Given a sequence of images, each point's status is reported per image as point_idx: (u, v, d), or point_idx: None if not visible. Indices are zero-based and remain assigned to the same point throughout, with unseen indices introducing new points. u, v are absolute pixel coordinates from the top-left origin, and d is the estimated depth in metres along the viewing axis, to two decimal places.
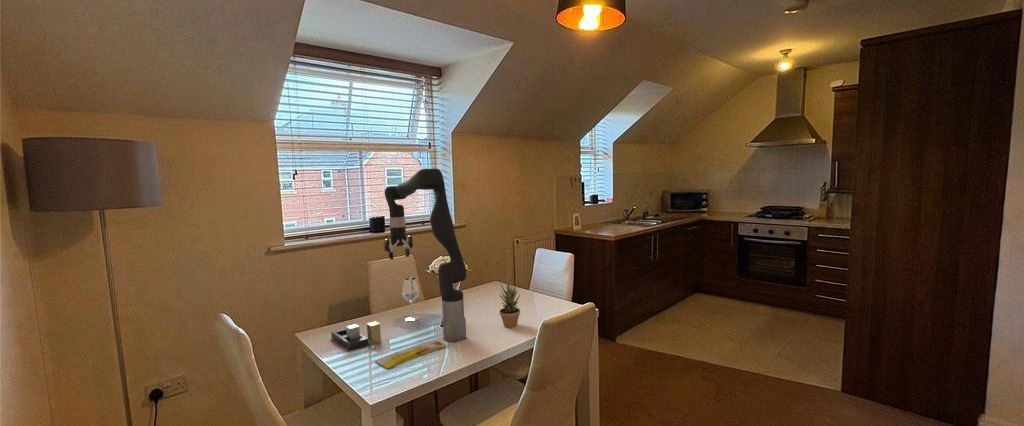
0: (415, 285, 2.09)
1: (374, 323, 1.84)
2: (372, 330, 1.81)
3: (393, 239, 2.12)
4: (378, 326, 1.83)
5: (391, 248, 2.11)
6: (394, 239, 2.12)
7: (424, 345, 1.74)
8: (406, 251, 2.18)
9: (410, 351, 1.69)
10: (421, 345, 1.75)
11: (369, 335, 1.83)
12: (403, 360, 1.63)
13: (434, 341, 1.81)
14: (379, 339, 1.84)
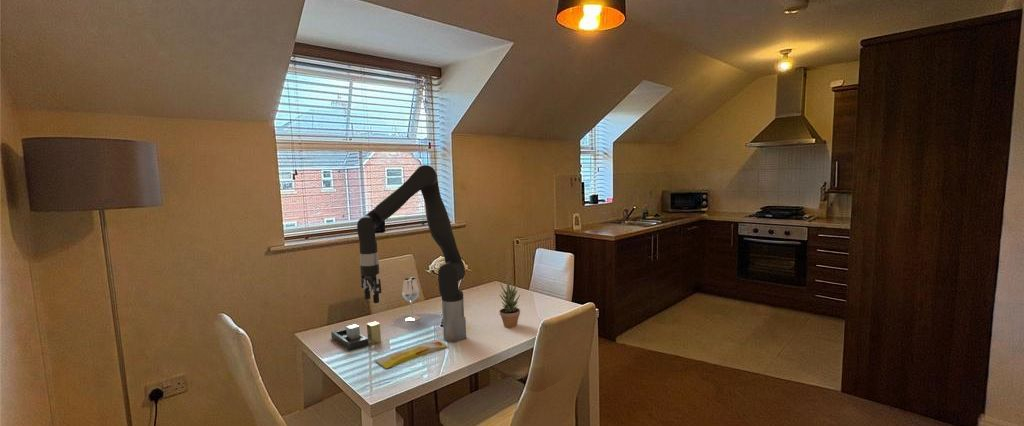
0: (415, 285, 2.09)
1: (374, 323, 1.84)
2: (372, 330, 1.81)
3: None
4: (378, 326, 1.83)
5: (378, 289, 1.79)
6: None
7: (424, 345, 1.74)
8: (367, 292, 1.85)
9: (409, 351, 1.69)
10: (421, 345, 1.75)
11: (369, 335, 1.83)
12: (402, 360, 1.63)
13: (435, 341, 1.80)
14: (379, 339, 1.84)
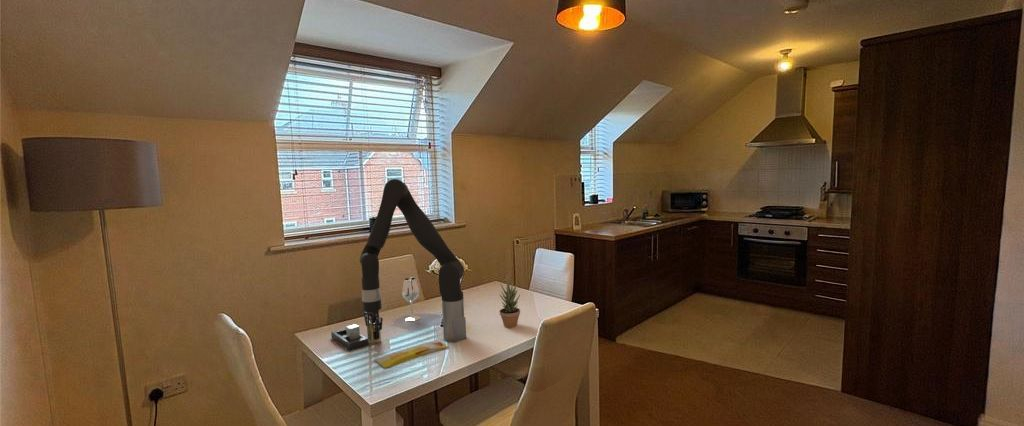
0: (415, 285, 2.09)
1: (374, 323, 1.84)
2: (372, 330, 1.81)
3: None
4: None
5: (378, 326, 1.82)
6: None
7: (425, 345, 1.74)
8: None
9: (409, 351, 1.69)
10: (421, 345, 1.75)
11: (369, 335, 1.83)
12: (401, 360, 1.63)
13: (436, 342, 1.80)
14: (379, 339, 1.84)
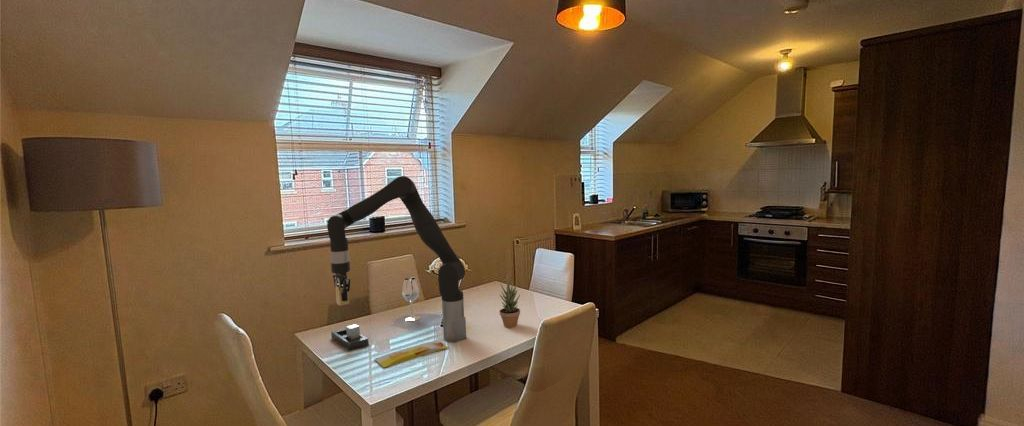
0: (415, 285, 2.09)
1: (342, 285, 1.86)
2: (340, 291, 1.84)
3: None
4: None
5: (347, 288, 1.85)
6: None
7: (425, 346, 1.74)
8: None
9: (409, 351, 1.69)
10: (422, 345, 1.75)
11: (337, 297, 1.85)
12: (401, 360, 1.63)
13: (437, 342, 1.79)
14: (347, 301, 1.86)
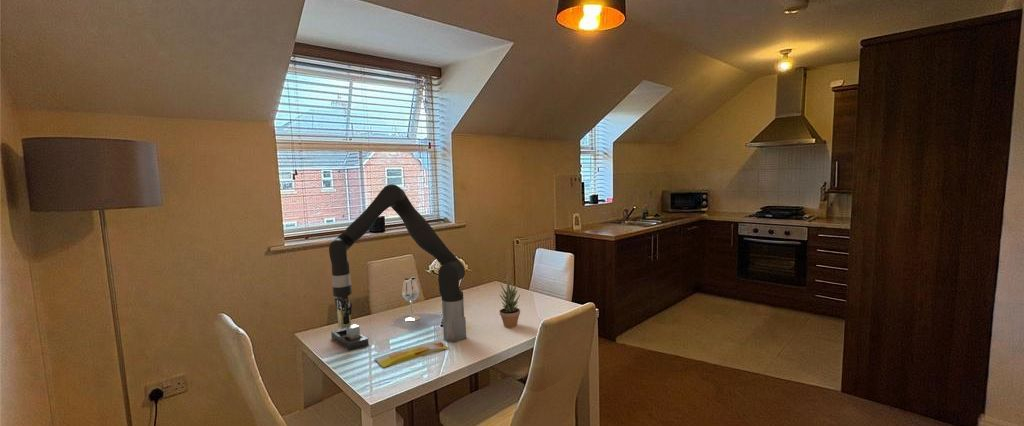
0: (415, 285, 2.09)
1: (344, 308, 1.87)
2: (342, 314, 1.85)
3: None
4: None
5: (348, 311, 1.86)
6: None
7: (425, 346, 1.74)
8: None
9: (409, 351, 1.69)
10: (422, 345, 1.74)
11: (339, 320, 1.86)
12: (400, 360, 1.63)
13: (437, 342, 1.79)
14: (349, 324, 1.87)
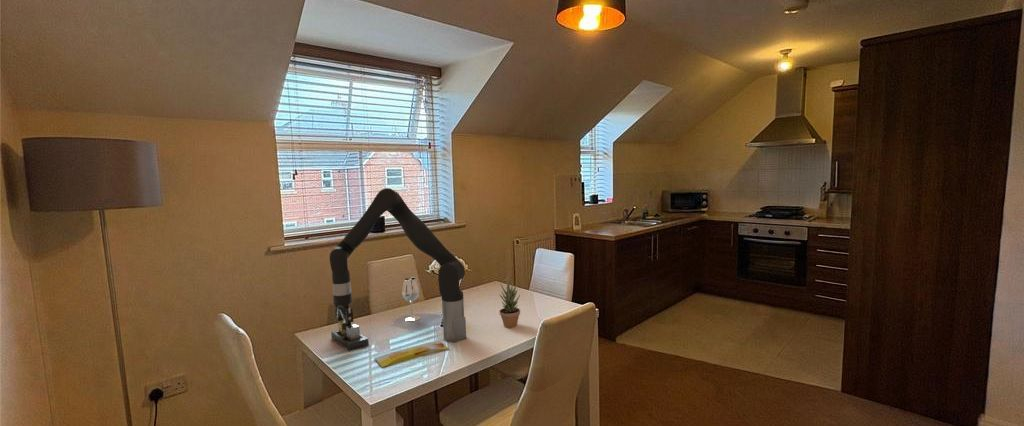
0: (415, 285, 2.09)
1: None
2: (343, 327, 1.85)
3: None
4: None
5: (350, 318, 1.85)
6: None
7: (425, 346, 1.73)
8: (341, 320, 1.91)
9: (409, 351, 1.69)
10: (422, 345, 1.74)
11: (340, 332, 1.87)
12: (400, 360, 1.63)
13: (438, 342, 1.79)
14: None
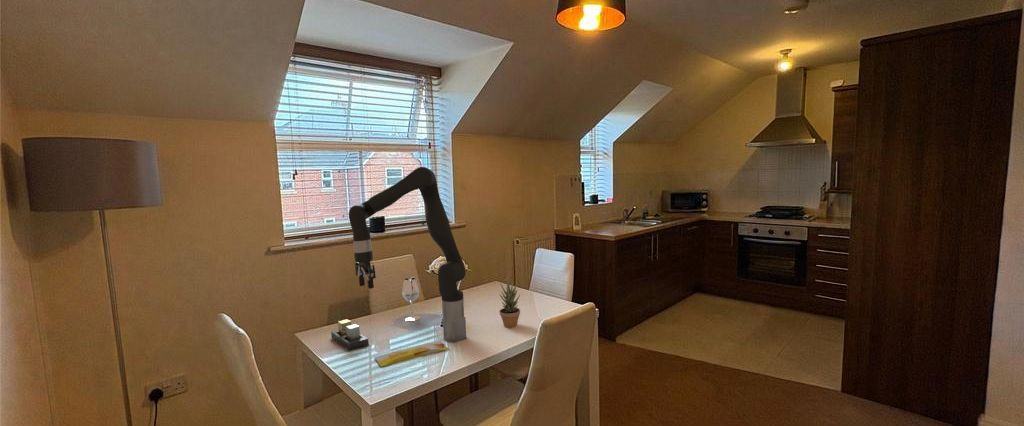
0: (415, 285, 2.09)
1: (345, 321, 1.88)
2: (343, 327, 1.85)
3: None
4: (349, 323, 1.87)
5: (372, 275, 1.85)
6: None
7: (426, 346, 1.73)
8: (362, 279, 1.91)
9: (409, 351, 1.69)
10: (423, 345, 1.74)
11: (340, 332, 1.87)
12: (399, 360, 1.63)
13: (439, 343, 1.79)
14: None
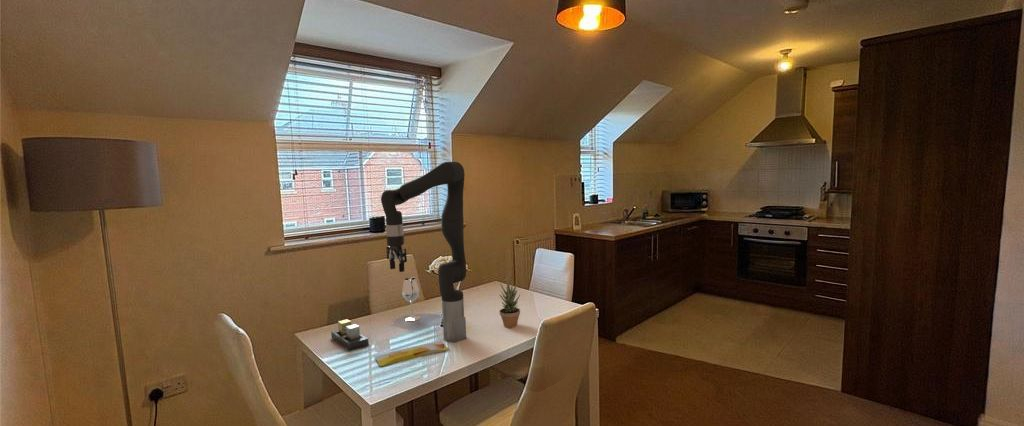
0: (415, 285, 2.09)
1: (345, 321, 1.88)
2: (343, 327, 1.85)
3: None
4: (349, 323, 1.87)
5: (403, 258, 1.90)
6: None
7: (426, 346, 1.73)
8: (393, 263, 1.96)
9: (409, 351, 1.69)
10: (423, 345, 1.74)
11: (340, 332, 1.87)
12: (398, 359, 1.64)
13: (439, 343, 1.78)
14: None
